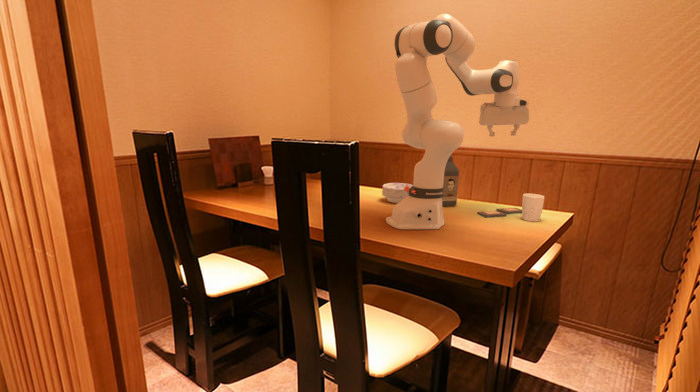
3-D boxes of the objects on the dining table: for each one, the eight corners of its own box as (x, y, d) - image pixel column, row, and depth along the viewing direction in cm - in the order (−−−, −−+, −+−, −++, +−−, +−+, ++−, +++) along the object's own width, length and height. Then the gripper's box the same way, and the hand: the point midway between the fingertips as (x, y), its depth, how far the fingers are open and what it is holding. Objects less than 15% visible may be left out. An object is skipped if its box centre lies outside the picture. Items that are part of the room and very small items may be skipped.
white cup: (543, 222, 147) (547, 198, 145) (522, 221, 148) (525, 196, 146) (538, 217, 154) (541, 194, 152) (518, 216, 156) (520, 193, 154)
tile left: (485, 217, 152) (486, 214, 152) (477, 214, 158) (477, 211, 157) (506, 216, 155) (506, 213, 155) (496, 212, 160) (497, 210, 160)
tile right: (505, 214, 158) (505, 211, 158) (496, 210, 164) (496, 208, 164) (524, 213, 161) (525, 210, 161) (515, 209, 167) (515, 207, 166)
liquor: (431, 202, 176) (435, 139, 170) (448, 202, 178) (453, 139, 172) (440, 207, 168) (445, 140, 161) (458, 206, 170) (464, 141, 163)
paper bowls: (378, 203, 173) (379, 186, 171) (385, 197, 187) (386, 181, 186) (411, 206, 169) (412, 189, 167) (415, 199, 183) (416, 183, 181)
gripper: (484, 102, 149) (482, 137, 152) (532, 101, 151) (529, 135, 154) (477, 102, 155) (475, 136, 158) (524, 101, 157) (521, 134, 160)
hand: (502, 135), depth 156 cm, fingers open, 8 cm apart
